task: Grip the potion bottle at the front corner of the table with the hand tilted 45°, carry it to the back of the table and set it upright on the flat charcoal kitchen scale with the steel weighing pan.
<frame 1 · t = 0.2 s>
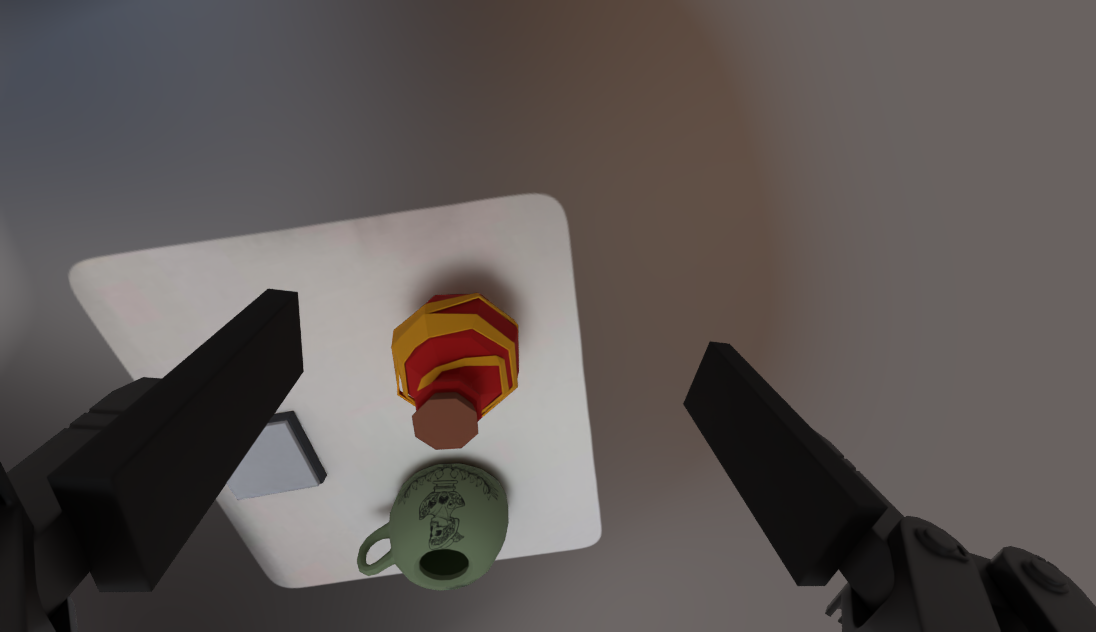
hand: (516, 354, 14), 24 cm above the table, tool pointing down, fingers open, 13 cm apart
potion bottle: (465, 318, 39), on the table
scale: (268, 452, 43), on the table
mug: (441, 497, 49), on the table
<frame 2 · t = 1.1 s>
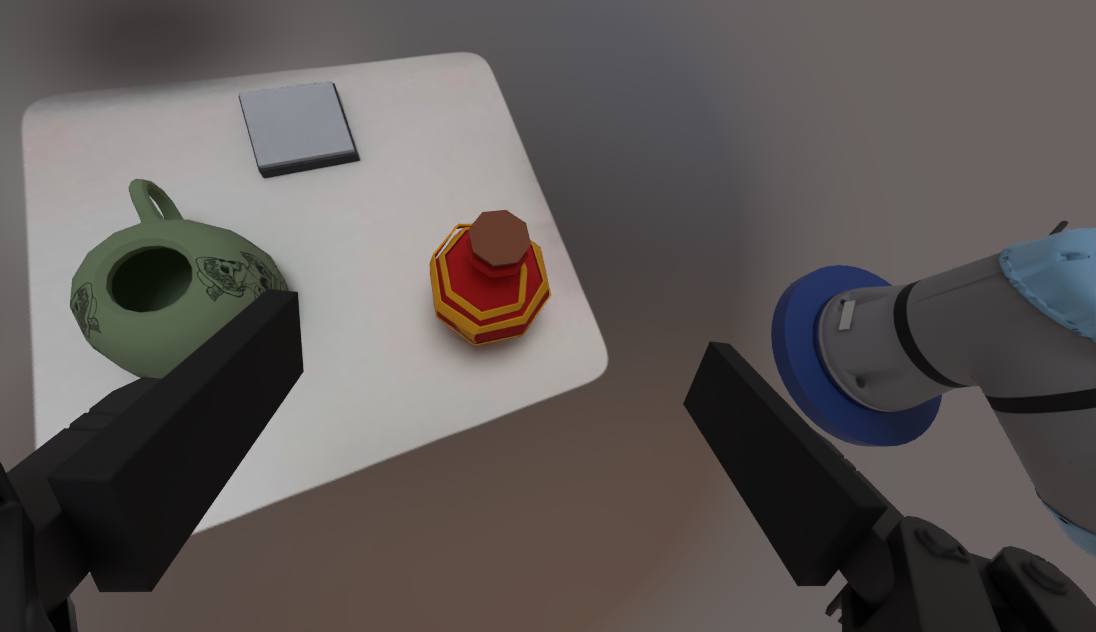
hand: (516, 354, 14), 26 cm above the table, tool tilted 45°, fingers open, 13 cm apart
potion bottle: (484, 307, 41), on the table
scale: (302, 132, 43), on the table
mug: (213, 299, 36), on the table
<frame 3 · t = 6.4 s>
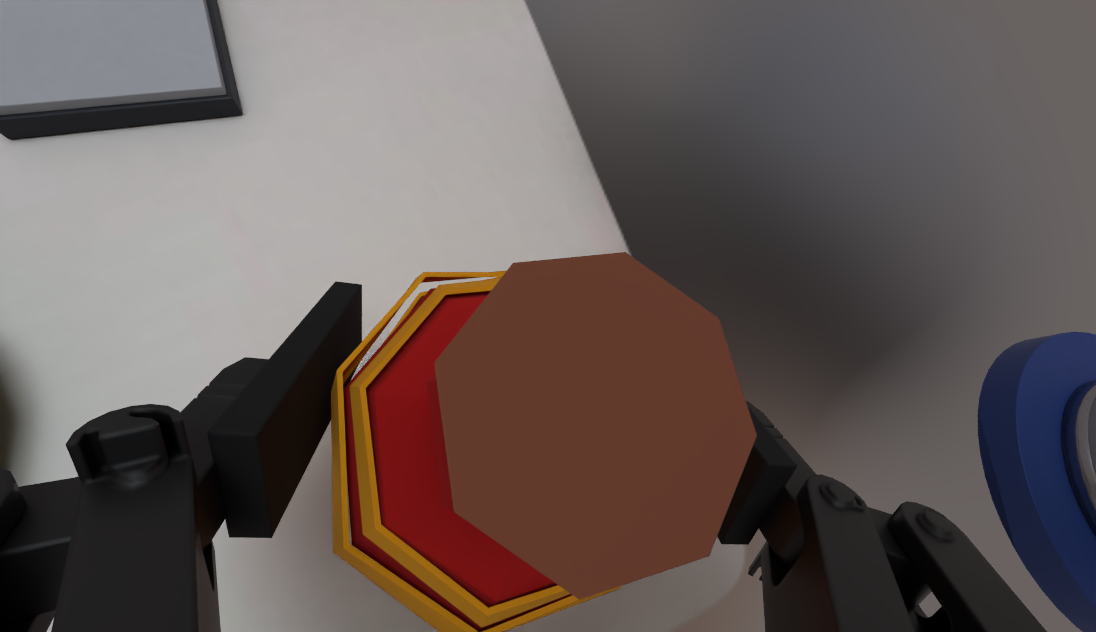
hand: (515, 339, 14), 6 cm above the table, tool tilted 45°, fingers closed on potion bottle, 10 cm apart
potion bottle: (488, 435, 19), on the table, touching gripper
scale: (122, 52, 20), on the table
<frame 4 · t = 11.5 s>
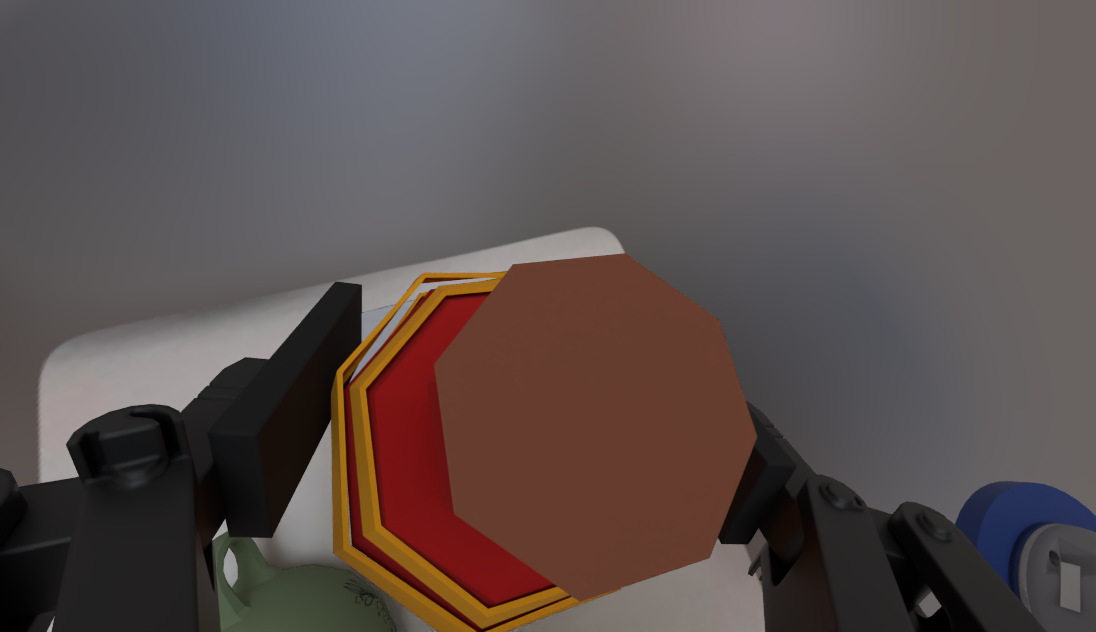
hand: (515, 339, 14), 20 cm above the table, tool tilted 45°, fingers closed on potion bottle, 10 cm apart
potion bottle: (488, 435, 19), point 14 cm above the table, touching gripper
scale: (403, 362, 33), on the table
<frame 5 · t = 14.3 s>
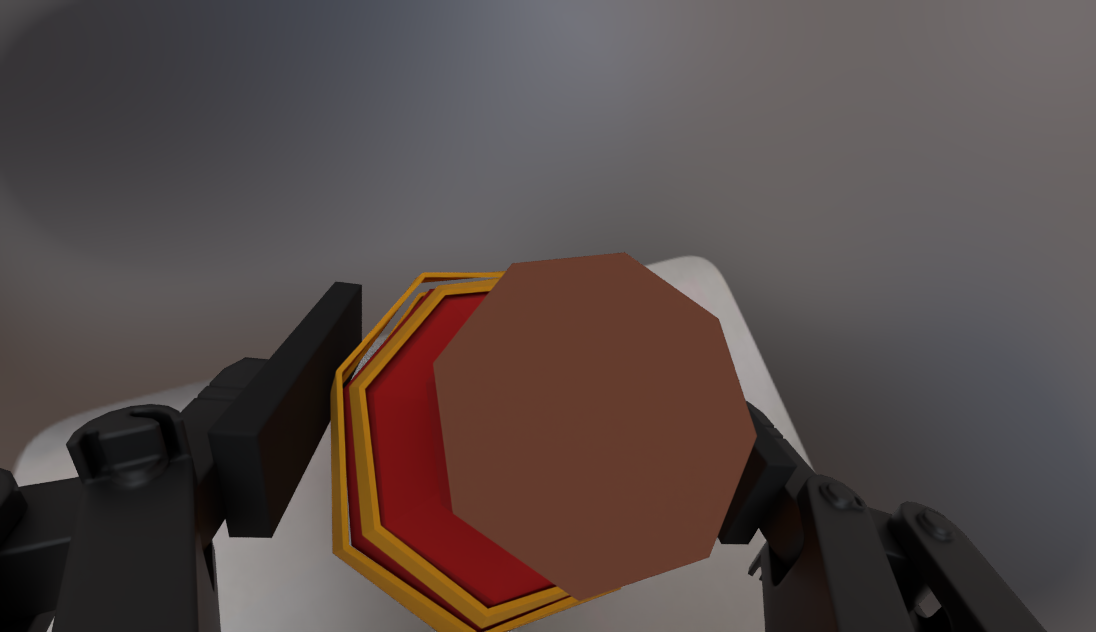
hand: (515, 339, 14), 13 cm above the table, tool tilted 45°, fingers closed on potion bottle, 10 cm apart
potion bottle: (488, 435, 19), point 7 cm above the table, touching gripper
when the fingers open (8 cm above the table, at t = 16.4 s): potion bottle stays where it is, resting on scale.
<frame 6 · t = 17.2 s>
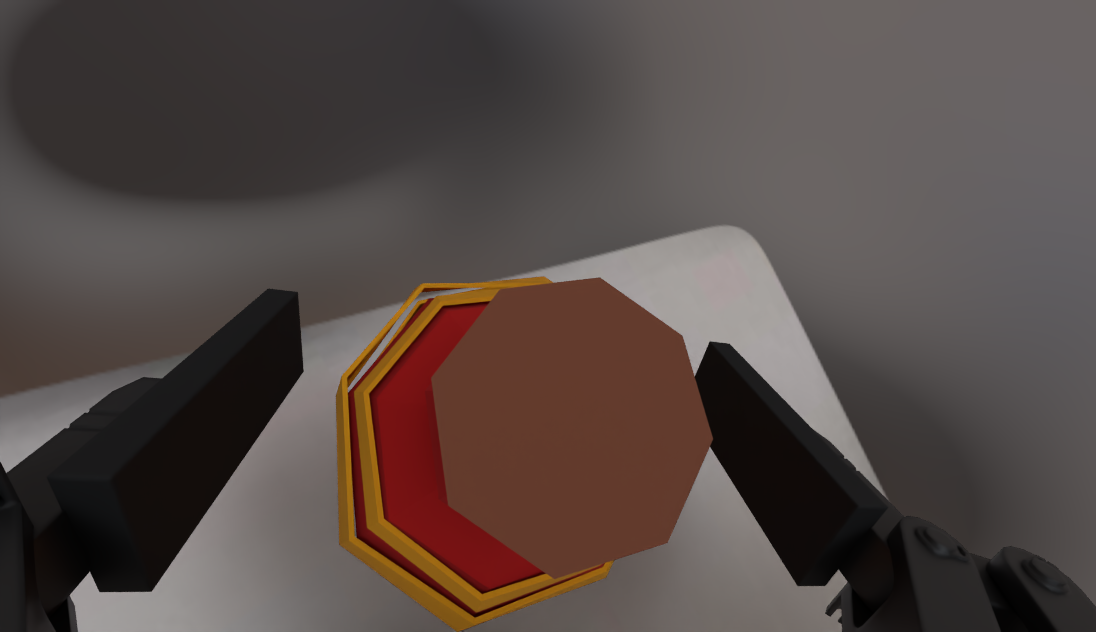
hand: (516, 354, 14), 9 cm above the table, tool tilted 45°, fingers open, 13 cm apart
potion bottle: (485, 434, 20), point 1 cm above the table, touching scale
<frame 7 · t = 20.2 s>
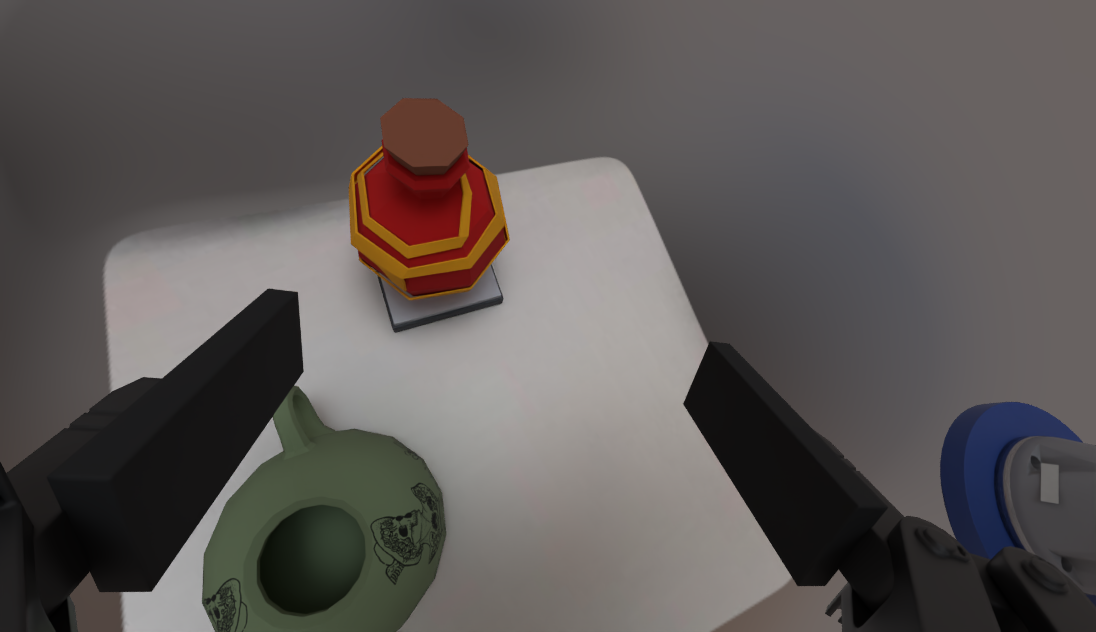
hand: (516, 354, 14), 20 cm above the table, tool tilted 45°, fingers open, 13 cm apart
potion bottle: (433, 262, 34), point 1 cm above the table, touching scale
scale: (434, 268, 35), on the table
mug: (343, 505, 29), on the table
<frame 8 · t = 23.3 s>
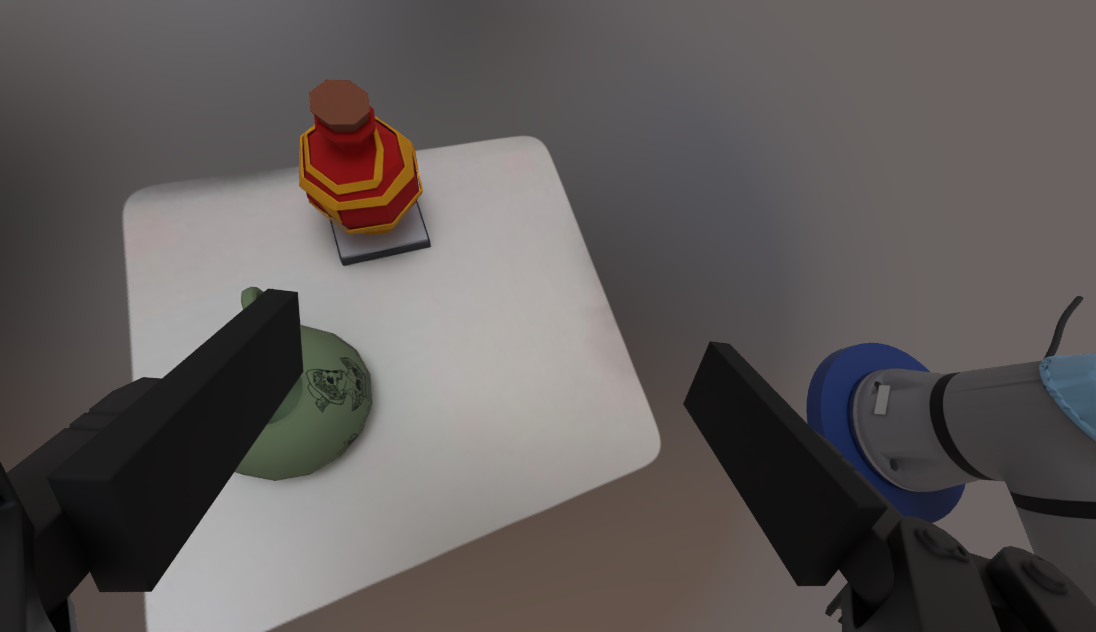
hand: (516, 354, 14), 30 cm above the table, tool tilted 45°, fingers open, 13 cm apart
potion bottle: (374, 212, 44), point 1 cm above the table, touching scale
scale: (377, 219, 45), on the table
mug: (299, 387, 39), on the table
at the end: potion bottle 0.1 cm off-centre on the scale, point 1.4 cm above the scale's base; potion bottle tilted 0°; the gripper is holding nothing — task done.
